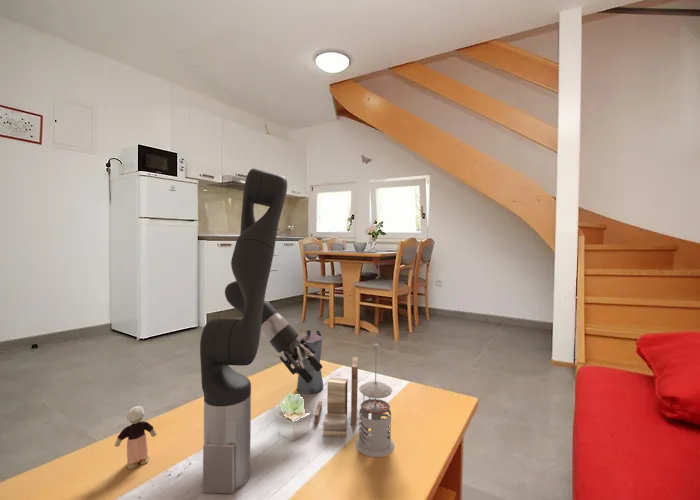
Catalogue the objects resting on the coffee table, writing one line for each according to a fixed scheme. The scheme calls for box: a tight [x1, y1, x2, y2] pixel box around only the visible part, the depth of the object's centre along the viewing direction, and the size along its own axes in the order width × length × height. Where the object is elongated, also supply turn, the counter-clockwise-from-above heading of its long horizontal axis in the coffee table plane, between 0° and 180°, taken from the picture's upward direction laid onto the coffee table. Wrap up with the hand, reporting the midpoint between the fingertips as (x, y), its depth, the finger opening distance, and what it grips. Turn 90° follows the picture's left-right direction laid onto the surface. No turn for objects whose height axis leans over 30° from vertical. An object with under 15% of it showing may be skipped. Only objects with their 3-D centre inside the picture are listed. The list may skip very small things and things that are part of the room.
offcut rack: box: [313, 356, 359, 427], centre depth 95 cm, size 8×12×16 cm
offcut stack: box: [322, 413, 348, 438], centre depth 88 cm, size 4×6×4 cm
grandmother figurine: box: [114, 405, 157, 470], centre depth 74 cm, size 8×4×13 cm, turn 141°
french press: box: [354, 343, 396, 458], centre depth 83 cm, size 10×12×25 cm
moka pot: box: [296, 329, 324, 394], centre depth 115 cm, size 10×15×20 cm, turn 163°
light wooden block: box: [326, 377, 349, 419], centre depth 94 cm, size 3×5×11 cm, turn 77°
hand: (315, 374), depth 96 cm, fingers open, 8 cm apart
